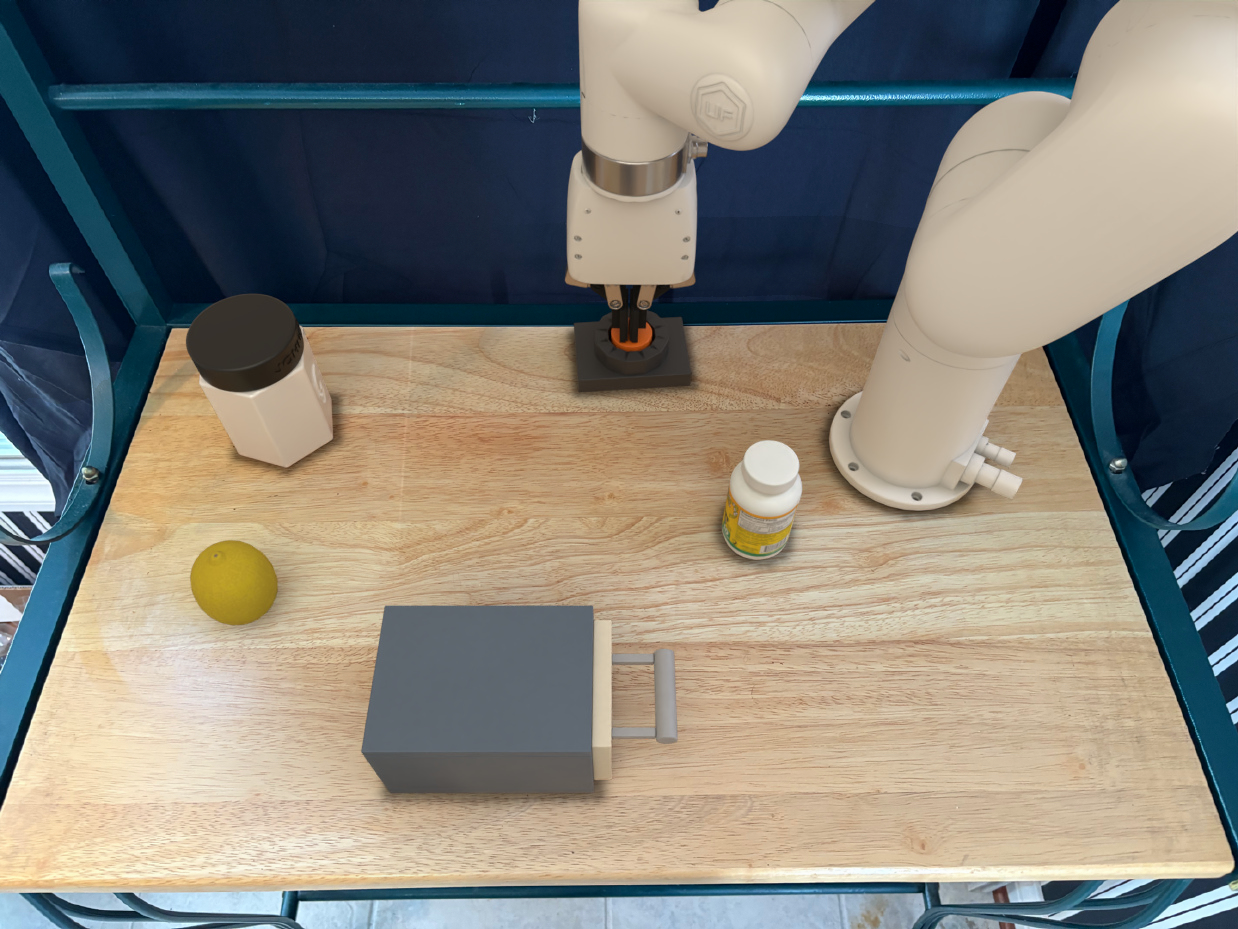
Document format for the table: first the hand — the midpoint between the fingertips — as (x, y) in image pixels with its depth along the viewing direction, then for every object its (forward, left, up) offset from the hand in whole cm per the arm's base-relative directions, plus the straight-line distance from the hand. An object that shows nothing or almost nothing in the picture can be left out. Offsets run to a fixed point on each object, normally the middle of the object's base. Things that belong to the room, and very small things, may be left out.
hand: (628, 330), depth 80 cm
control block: (0, 0, -4) cm, 4 cm away
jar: (+21, +22, -4) cm, 31 cm away
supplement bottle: (-18, +10, -4) cm, 21 cm away
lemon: (+11, +36, -4) cm, 38 cm away
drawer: (-13, +32, -3) cm, 34 cm away
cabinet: (-10, +34, -4) cm, 35 cm away
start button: (0, 0, -2) cm, 2 cm away
